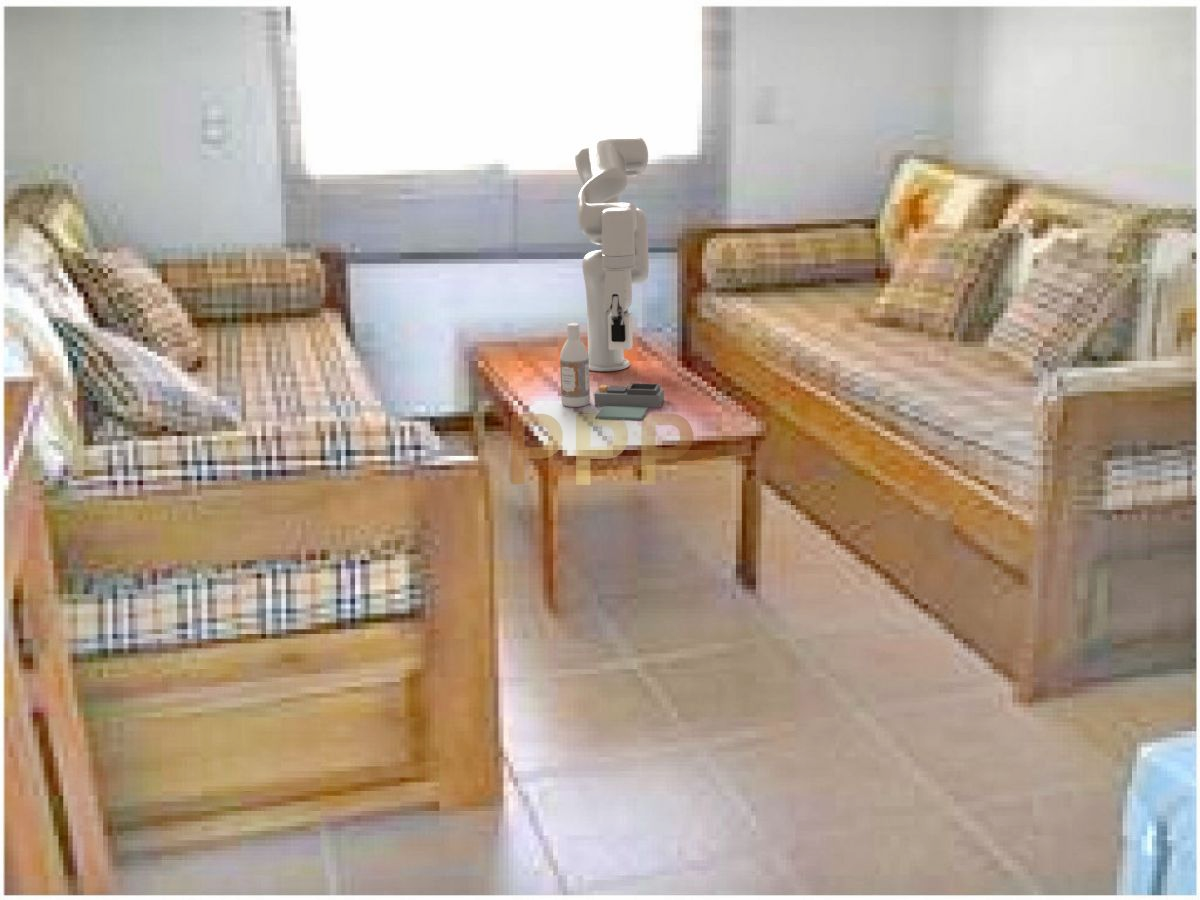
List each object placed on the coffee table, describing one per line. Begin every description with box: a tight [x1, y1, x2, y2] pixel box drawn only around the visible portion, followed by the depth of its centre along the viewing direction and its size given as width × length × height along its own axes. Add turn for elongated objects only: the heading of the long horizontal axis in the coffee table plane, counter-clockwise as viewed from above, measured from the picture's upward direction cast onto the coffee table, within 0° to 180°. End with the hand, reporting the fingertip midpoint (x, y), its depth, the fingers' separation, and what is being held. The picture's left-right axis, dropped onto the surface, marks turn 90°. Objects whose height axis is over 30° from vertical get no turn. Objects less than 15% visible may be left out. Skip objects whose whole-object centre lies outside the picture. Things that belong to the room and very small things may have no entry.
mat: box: [595, 406, 649, 421], centre depth 330 cm, size 9×11×1 cm
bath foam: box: [559, 322, 591, 408], centre depth 337 cm, size 7×7×20 cm
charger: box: [608, 309, 634, 351], centre depth 324 cm, size 4×5×10 cm
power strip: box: [594, 382, 665, 409], centre depth 339 cm, size 7×16×4 cm, turn 78°
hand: (620, 338), depth 324 cm, fingers closed on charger, 4 cm apart
